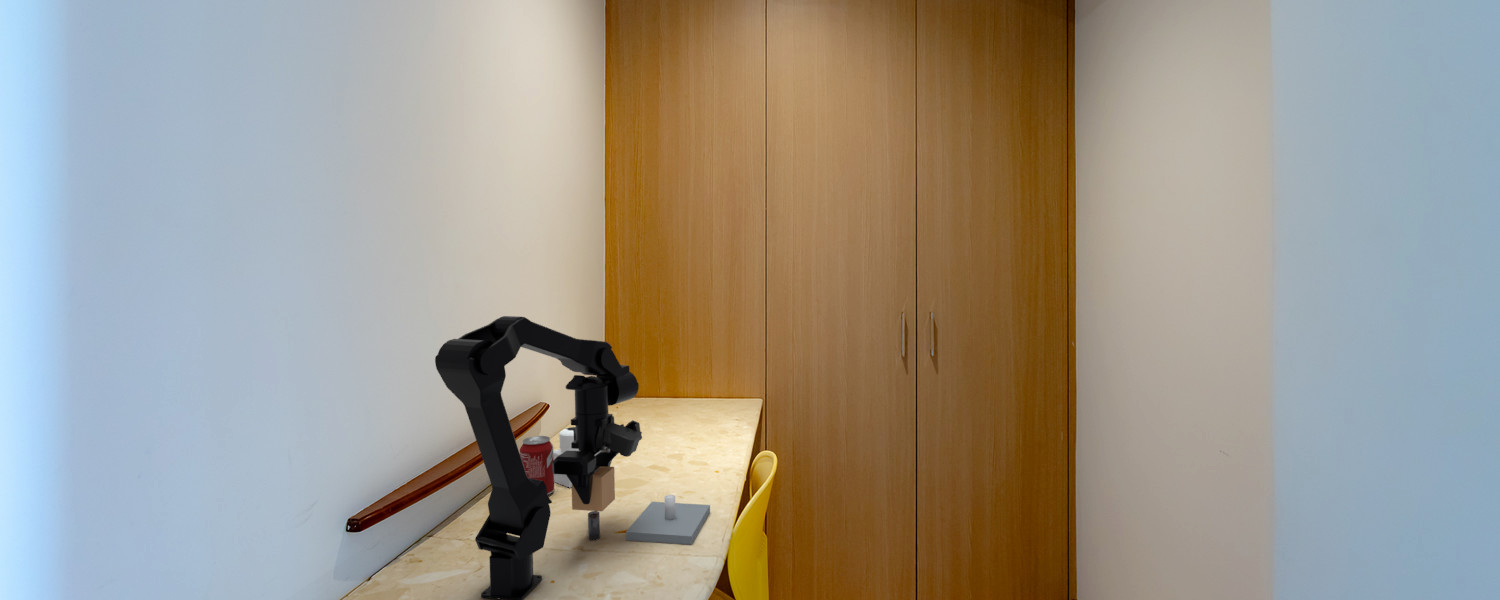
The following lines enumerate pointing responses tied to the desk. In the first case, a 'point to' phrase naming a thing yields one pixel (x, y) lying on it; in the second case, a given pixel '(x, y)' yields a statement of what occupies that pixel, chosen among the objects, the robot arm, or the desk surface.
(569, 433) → the medicine bottle
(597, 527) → the dark grey cylinder
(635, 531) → the board
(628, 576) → the desk surface
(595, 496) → the brown square box
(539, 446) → the soda can
